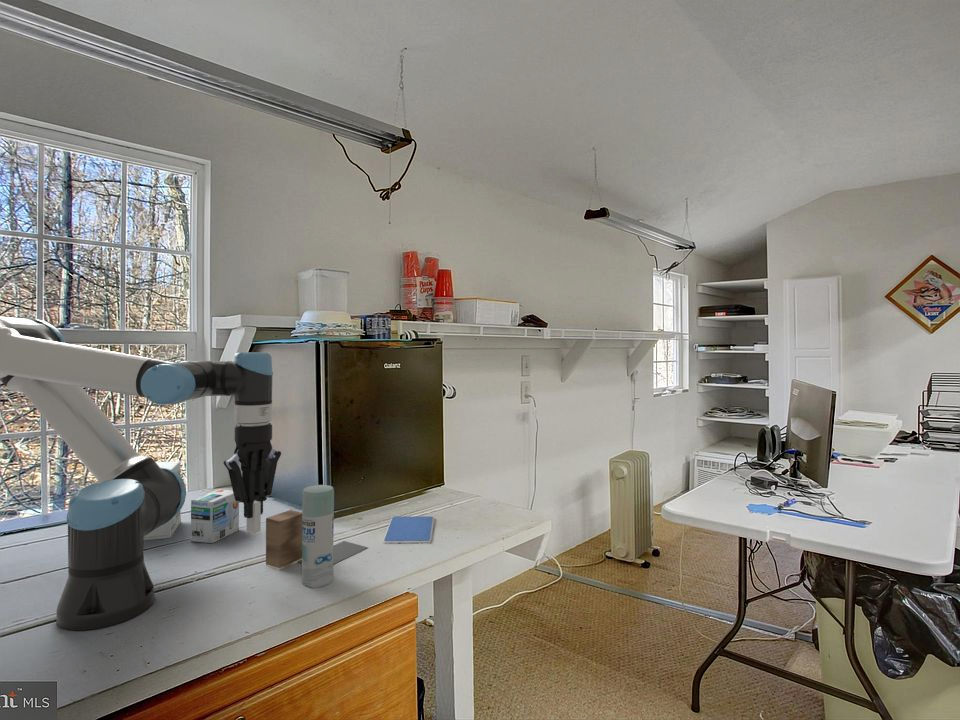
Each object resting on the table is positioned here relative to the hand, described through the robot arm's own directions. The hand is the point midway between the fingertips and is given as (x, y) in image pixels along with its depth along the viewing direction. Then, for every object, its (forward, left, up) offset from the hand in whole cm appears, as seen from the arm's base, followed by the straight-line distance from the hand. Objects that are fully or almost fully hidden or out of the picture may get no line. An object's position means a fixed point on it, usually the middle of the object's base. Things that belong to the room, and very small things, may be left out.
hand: (253, 530), depth 114 cm
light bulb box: (+10, +29, -10) cm, 32 cm away
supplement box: (+2, +46, -10) cm, 47 cm away
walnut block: (+8, 0, -10) cm, 13 cm away
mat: (+17, -6, -10) cm, 21 cm away
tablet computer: (+40, -12, -11) cm, 43 cm away
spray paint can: (+6, -14, -10) cm, 18 cm away
